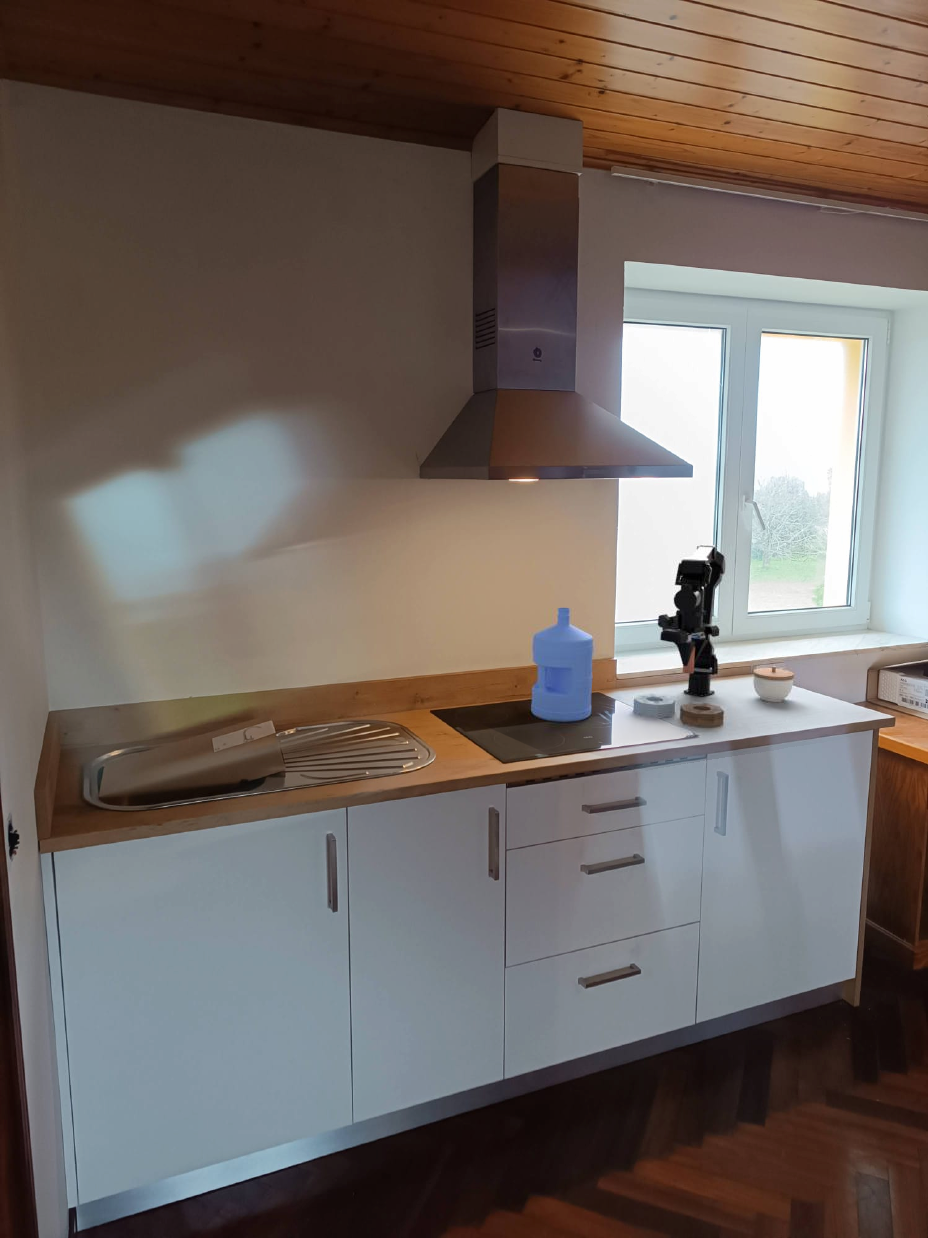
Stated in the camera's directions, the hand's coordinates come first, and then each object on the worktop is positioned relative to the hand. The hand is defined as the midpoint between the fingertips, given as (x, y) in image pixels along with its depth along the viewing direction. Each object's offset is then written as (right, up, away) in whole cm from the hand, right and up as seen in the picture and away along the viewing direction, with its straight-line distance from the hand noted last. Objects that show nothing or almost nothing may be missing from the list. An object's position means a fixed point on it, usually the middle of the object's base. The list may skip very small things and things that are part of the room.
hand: (688, 665), depth 226 cm
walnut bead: (+1, -14, -8) cm, 16 cm away
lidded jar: (+27, -11, +14) cm, 32 cm away
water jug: (-34, -13, -2) cm, 36 cm away
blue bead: (-9, -12, 0) cm, 15 cm away
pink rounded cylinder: (0, -2, 0) cm, 2 cm away
